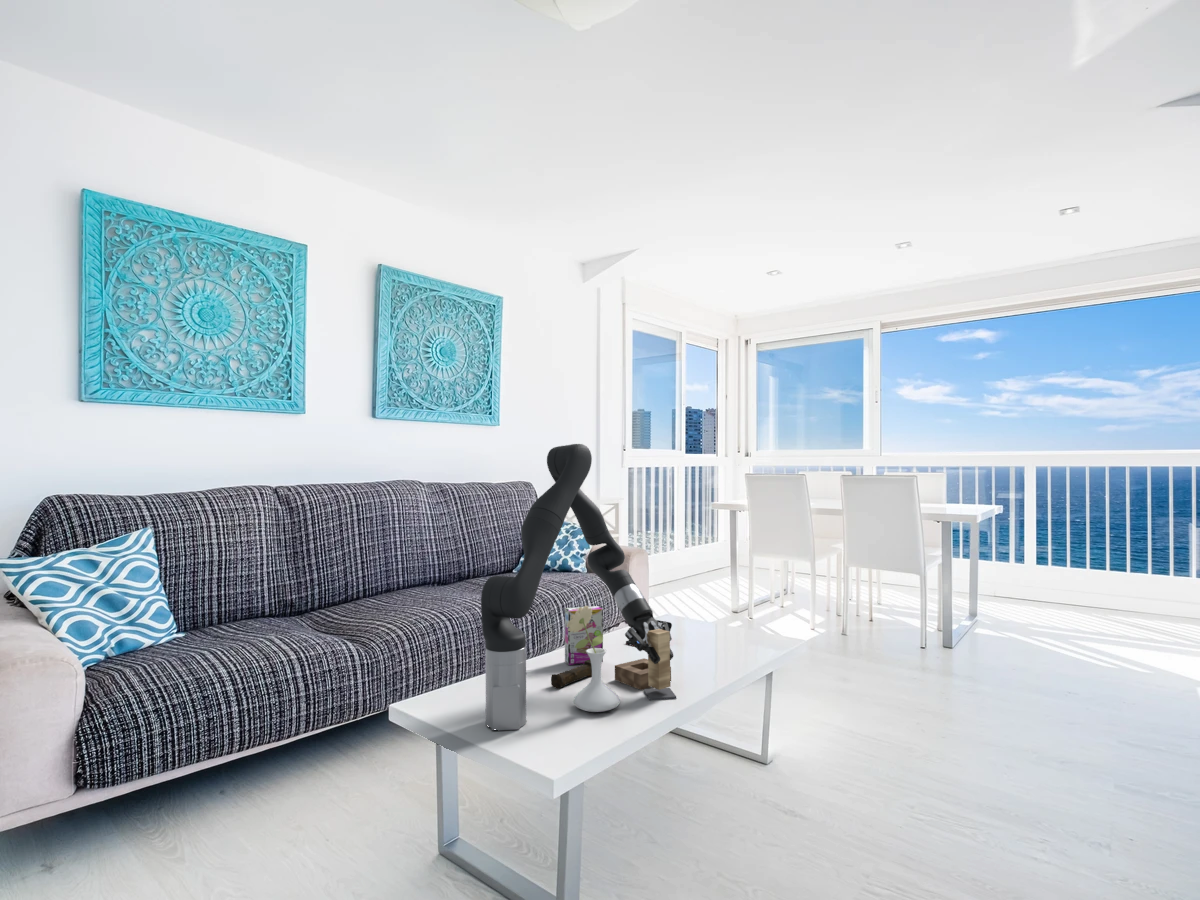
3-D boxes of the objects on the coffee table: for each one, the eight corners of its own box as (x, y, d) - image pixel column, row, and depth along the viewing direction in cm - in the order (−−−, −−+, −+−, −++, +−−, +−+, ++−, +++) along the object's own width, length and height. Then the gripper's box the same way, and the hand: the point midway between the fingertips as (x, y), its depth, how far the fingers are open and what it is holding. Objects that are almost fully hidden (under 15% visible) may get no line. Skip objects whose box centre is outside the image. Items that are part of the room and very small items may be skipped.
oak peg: (670, 686, 163) (669, 631, 164) (659, 689, 160) (658, 633, 161) (659, 682, 166) (659, 628, 167) (648, 685, 164) (647, 631, 164)
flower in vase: (606, 697, 162) (605, 598, 163) (628, 711, 152) (627, 605, 153) (559, 706, 156) (558, 603, 157) (579, 721, 146) (578, 611, 147)
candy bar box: (568, 666, 190) (568, 610, 190) (564, 661, 194) (563, 607, 195) (604, 662, 193) (603, 608, 194) (599, 658, 198) (598, 605, 199)
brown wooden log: (560, 691, 168) (560, 673, 168) (550, 687, 171) (550, 670, 171) (607, 674, 182) (607, 658, 182) (597, 671, 185) (597, 655, 185)
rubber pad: (676, 698, 160) (676, 696, 160) (649, 700, 159) (649, 698, 159) (669, 689, 167) (669, 687, 167) (643, 691, 166) (643, 689, 166)
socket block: (671, 681, 174) (670, 666, 174) (641, 690, 167) (640, 674, 167) (644, 672, 182) (644, 658, 183) (614, 680, 176) (614, 665, 176)
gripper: (618, 600, 166) (650, 657, 156) (658, 593, 175) (691, 647, 164) (606, 617, 170) (636, 674, 160) (646, 610, 179) (677, 663, 168)
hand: (664, 660), depth 162 cm, fingers closed on oak peg, 4 cm apart
